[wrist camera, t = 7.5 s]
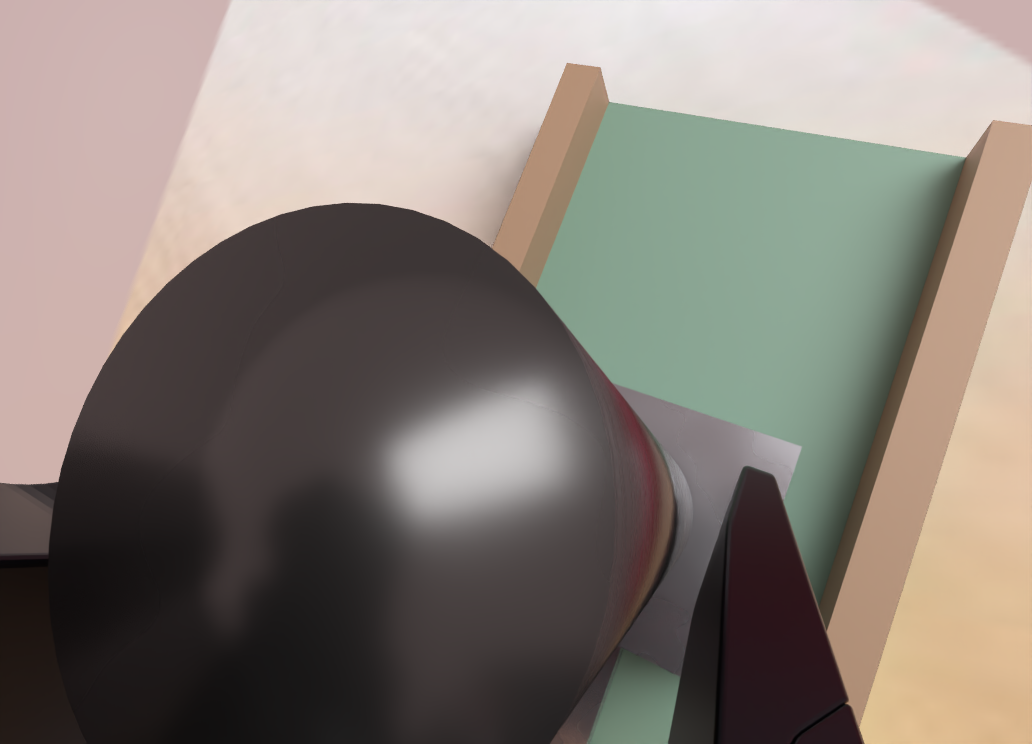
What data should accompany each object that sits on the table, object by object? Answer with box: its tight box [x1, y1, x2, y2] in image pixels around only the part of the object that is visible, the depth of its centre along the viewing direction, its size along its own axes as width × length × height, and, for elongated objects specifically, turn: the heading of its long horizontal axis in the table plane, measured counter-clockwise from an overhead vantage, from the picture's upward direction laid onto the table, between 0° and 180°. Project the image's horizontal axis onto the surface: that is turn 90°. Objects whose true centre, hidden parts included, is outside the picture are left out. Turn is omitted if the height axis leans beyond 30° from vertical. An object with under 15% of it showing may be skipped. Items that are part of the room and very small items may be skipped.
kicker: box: [48, 203, 802, 744], centre depth 9 cm, size 10×8×13 cm
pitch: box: [492, 63, 1032, 744], centre depth 15 cm, size 24×12×2 cm, turn 157°
